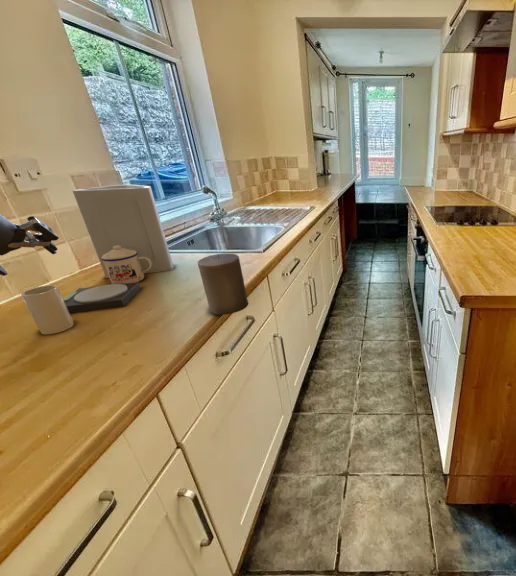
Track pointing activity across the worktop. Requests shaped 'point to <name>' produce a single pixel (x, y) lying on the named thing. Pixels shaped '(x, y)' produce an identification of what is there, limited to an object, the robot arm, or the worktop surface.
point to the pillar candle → (223, 283)
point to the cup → (48, 309)
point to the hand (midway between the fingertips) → (28, 260)
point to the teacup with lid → (124, 265)
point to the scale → (101, 297)
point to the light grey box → (125, 223)
